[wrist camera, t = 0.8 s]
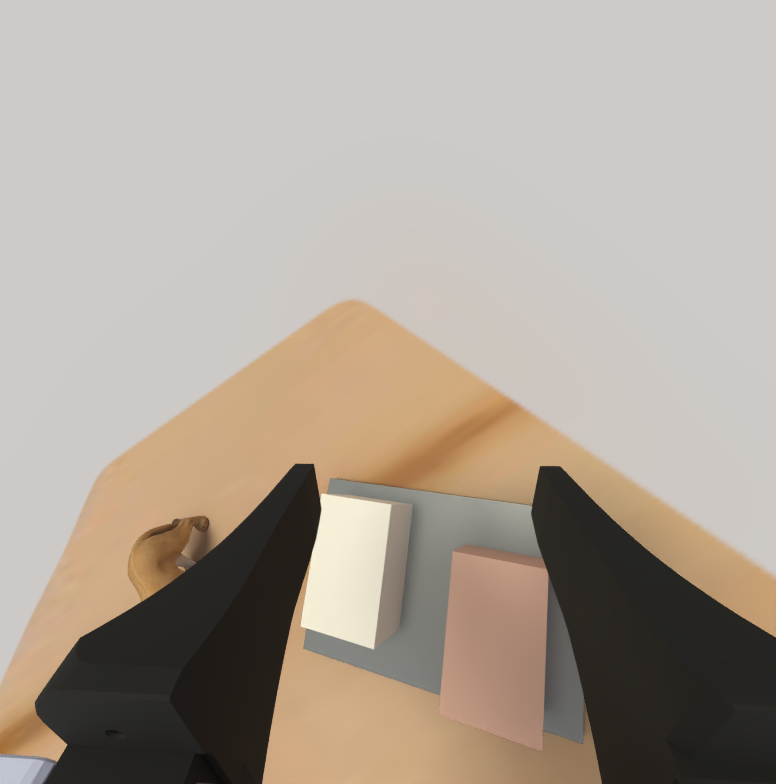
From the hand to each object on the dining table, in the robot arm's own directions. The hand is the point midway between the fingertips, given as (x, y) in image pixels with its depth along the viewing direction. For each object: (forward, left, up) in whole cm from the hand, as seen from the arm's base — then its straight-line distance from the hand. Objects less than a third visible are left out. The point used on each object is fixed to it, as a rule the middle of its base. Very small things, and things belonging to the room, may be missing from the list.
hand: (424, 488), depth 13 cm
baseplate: (-6, +3, -16) cm, 17 cm away
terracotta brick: (-7, -1, -15) cm, 17 cm away
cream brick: (-5, +8, -15) cm, 18 cm away
